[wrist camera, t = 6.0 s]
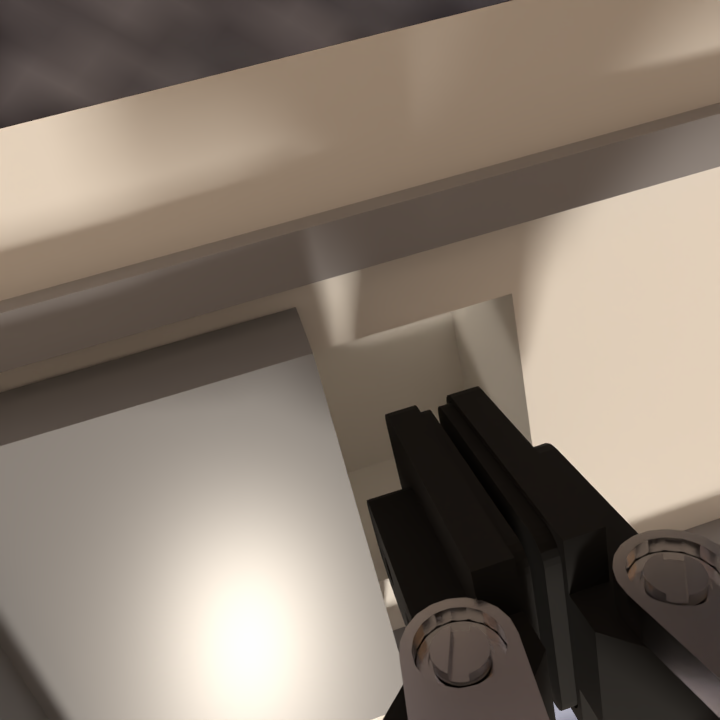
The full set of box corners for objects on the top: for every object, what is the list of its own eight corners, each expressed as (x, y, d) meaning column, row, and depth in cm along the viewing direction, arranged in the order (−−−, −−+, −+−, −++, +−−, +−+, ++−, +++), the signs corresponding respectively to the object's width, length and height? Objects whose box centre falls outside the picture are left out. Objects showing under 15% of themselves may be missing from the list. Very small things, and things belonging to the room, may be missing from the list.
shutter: (295, 307, 10) (324, 384, 7) (386, 620, 13) (430, 757, 10) (-159, 438, 10) (-308, 575, 7) (43, 737, 12) (-5, 916, 10)
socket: (578, -11, 14) (791, -71, 9) (614, 493, 20) (756, 636, 15) (-386, 232, 12) (-838, 337, 7) (-34, 709, 18) (-137, 962, 13)
